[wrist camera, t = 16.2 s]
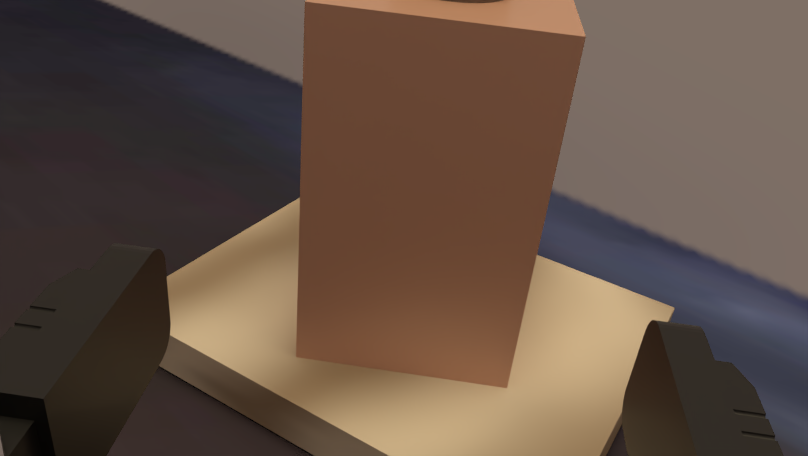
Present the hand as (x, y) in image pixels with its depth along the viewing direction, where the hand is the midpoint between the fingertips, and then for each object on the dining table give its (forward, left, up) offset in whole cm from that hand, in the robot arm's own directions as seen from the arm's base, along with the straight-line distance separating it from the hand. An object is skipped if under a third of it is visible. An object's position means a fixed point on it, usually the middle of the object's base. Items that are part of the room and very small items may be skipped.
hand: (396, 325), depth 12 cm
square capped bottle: (-4, +8, -6) cm, 11 cm away
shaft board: (-4, +8, -8) cm, 12 cm away
